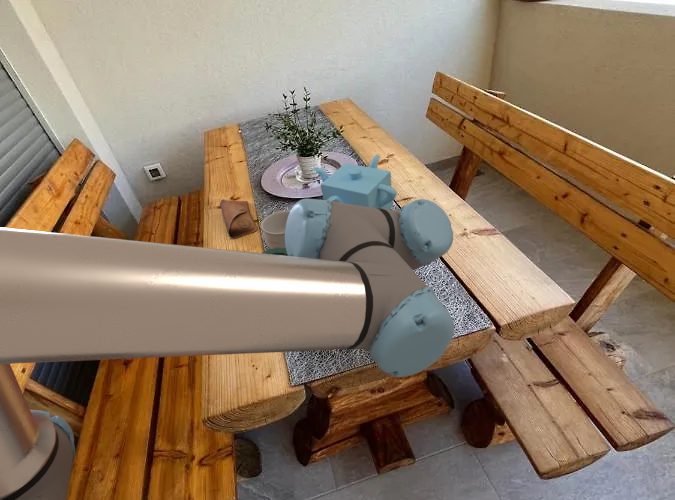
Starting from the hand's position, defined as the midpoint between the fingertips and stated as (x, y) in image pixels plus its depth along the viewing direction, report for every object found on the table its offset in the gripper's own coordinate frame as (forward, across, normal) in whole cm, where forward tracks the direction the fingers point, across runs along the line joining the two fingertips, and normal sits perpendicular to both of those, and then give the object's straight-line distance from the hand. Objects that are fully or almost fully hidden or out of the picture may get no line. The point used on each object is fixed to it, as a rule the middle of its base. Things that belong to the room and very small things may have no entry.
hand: (305, 300), depth 75 cm
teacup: (+20, +18, +9) cm, 28 cm away
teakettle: (+14, +37, +3) cm, 40 cm away
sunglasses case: (+37, +22, +26) cm, 50 cm away
